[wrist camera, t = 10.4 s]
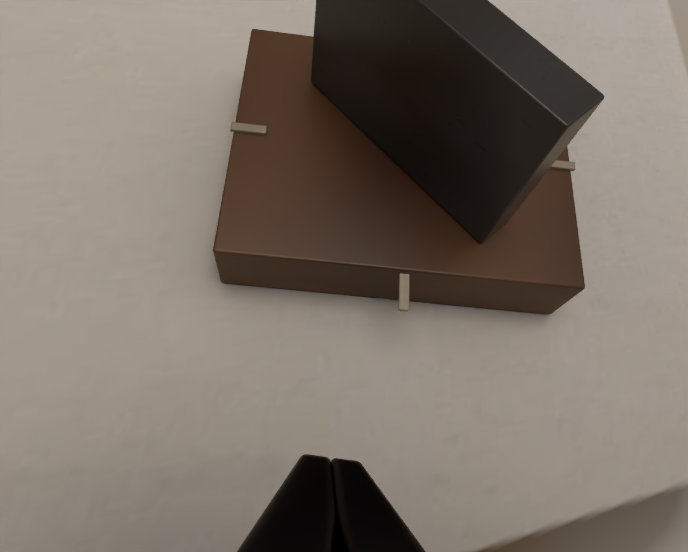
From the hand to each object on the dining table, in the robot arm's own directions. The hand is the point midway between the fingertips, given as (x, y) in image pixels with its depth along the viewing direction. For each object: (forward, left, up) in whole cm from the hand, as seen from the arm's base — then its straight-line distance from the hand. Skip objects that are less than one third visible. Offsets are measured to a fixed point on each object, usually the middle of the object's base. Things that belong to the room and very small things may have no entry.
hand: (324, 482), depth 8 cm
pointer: (+11, -8, -10) cm, 17 cm away
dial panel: (+11, -8, -13) cm, 19 cm away
